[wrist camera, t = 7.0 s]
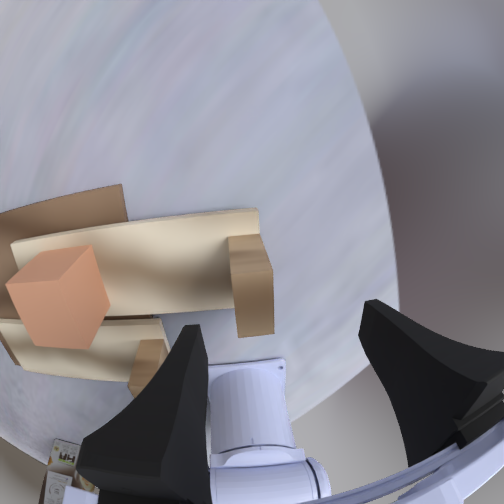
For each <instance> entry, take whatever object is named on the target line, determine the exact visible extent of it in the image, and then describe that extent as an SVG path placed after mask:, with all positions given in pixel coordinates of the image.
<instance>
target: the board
mask: <svg viewBox="0 0 504 504" xmlns="http://www.w3.org/2000/svg"><path fill="white" fill-rule="evenodd" d="M122 222H128V217H127V212H126V207H125V201H124V195H123V189H122V184H118V185H112V186H107V187H102V188H97V189H92V190H87V191H83V192H78V193H74V194H69V195H65V196H61V197H57V198H53V199H49V200H45V201H41V202H37V203H34V204H30V205H26V206H23V207H19V208H16V209H13V210H9V211H6V212H3V213H0V319H20V320H21V318H20V316H19V314H18V312H17V310H16V308H15V306H14V303H13V301H12V299H11V297H10V294H9V292H8V290H7V287H6V285H5V284H6V283H7V282H8V281H9V280H10V279H11V278H12V277H13V276H14V275H15V274H16V273H17V272H18V271H19V269H18V266H17V264H16V261H15V258H14V255H13V252H12V249H11V245H10V244H12V243H13V242H14V241H17V240H22V239H27V238H32V237H37V236H42V235H48V234H53V233H59V232H65V231H71V230H77V229H83V228H89V227H95V226H102V225H109V224H115V223H122ZM131 319H153V316H152V314H146V315H124V316H105V317H104V319H103V320H131ZM0 340H1V342H2V344H3V346H4V347H5V349H6V351H7V352H8V354H9V355H10V357H11V359H12V360H13V362H14V363H15V365H20V363H19V361H18V360H17V358H16V357H15V355H14V354H13V352H12V350H11V349H10V347H9V345H8V344H7V342H6V340H5V338H4V337H3V335H2V333H1V331H0ZM20 366H21V365H20Z"/></svg>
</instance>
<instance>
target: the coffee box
mask: <svg viewBox="0 0 504 504" xmlns="http://www.w3.org/2000/svg"><path fill="white" fill-rule="evenodd" d="M80 447H81V446H80V445H76V444H72V443H69V442H65V441H62V440H59V439H55V441H54V444H53V448H52V451H51V454H50V458H49V461H48V465H47V469H46V473H45V477H44V481H43V485H42V490H41V494H40V499H39V504H62V502H63V497H64V492H65V487H66V486H67V485H69V486H72V487H75V488H79V489H82V490H86V491H89V492H92V493H94V488H95V485H93V484H92V483H90V482H89V481H87V480H86V479H84V478H83V477H82V476H81V475H79V474H78V472H77V471H76V464H77V460H78V456H79V451H80Z"/></svg>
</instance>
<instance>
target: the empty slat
mask: <svg viewBox="0 0 504 504" xmlns="http://www.w3.org/2000/svg"><path fill="white" fill-rule="evenodd" d="M0 331H1V333H2V335H3V337H4V338H5V340H6V342H7V344H8V345H9V347H10V349H11V350H12V352H13V354H14V355H15V357H16V358H17V360H18V361H19V363H20V365H21V366H22V368H23V369H24V370H25V371H30V372H36V373H42V374H48V375H55V376H63V377H71V378H80V379H91V380H103V381H121V382H128V388H129V390H130V391H131V393H132V395H133V397H134V398H136V397H137V395H138V394H139V393H140V392H141V391H142V390H143V389H144V388H145V386H146V385H147V384H148V383H149V381H150V380H151V379H152V378H153V376H154V375H155V373H156V372H157V371H158V369H159V368H160V366H161V365H162V363H163V362H164V360H165V359H166V357H167V355H168V354H169V352H170V351H171V349H170V346H169V343H168V340H167V337H166V334H165V330H164V327H163V324H162V321H161V318H153V319H131V320H103V321H102V323H101V325H100V327H99V329H98V331H97V333H96V335H95V337H94V339H93V341H92V343H91V346H90V348H89V349H69V348H55V347H43V346H35V344H34V343H33V341H32V339H31V337H30V336H29V334H28V332H27V330H26V328H25V326H24V324H23V322H22V320H20V319H0Z"/></svg>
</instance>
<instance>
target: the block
mask: <svg viewBox="0 0 504 504" xmlns="http://www.w3.org/2000/svg"><path fill="white" fill-rule="evenodd" d="M5 285H6V287H7V290H8V292H9V294H10V297H11V299H12V301H13V303H14V306H15V308H16V310H17V312H18V314H19V316H20V318H21V320H22V322H23V324H24V326H25V328H26V330H27V332H28V334H29V336H30V337H31V339H32V341H33V343H34V344H35V346H43V347H55V348H69V349H89V348H90V346H91V343H92V341H93V339H94V337H95V335H96V333H97V331H98V329H99V327H100V325H101V323H102V321H103V319H104V317H105V315H106V313H107V311H108V310H109V308H110V306H111V305H110V302H109V299H108V296H107V293H106V290H105V287H104V284H103V281H102V278H101V275H100V272H99V269H98V265H97V262H96V258H95V255H94V251H93V248H92V244H91V245H84V246H76V247H69V248H62V249H55V250H48V251H41V252H40V253H39V254H38V255H36V256H35V257H34V258H33V259H32V260H31V261H30V262H28V263H27V264H26V265H25V266H24V267H23V268H22V269H21V270H20V271H18V272H17V273H16V274H15V275H14V276H13V277H12V278H11V279H10V280H9V281H8V282H7V283H6V284H5Z"/></svg>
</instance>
